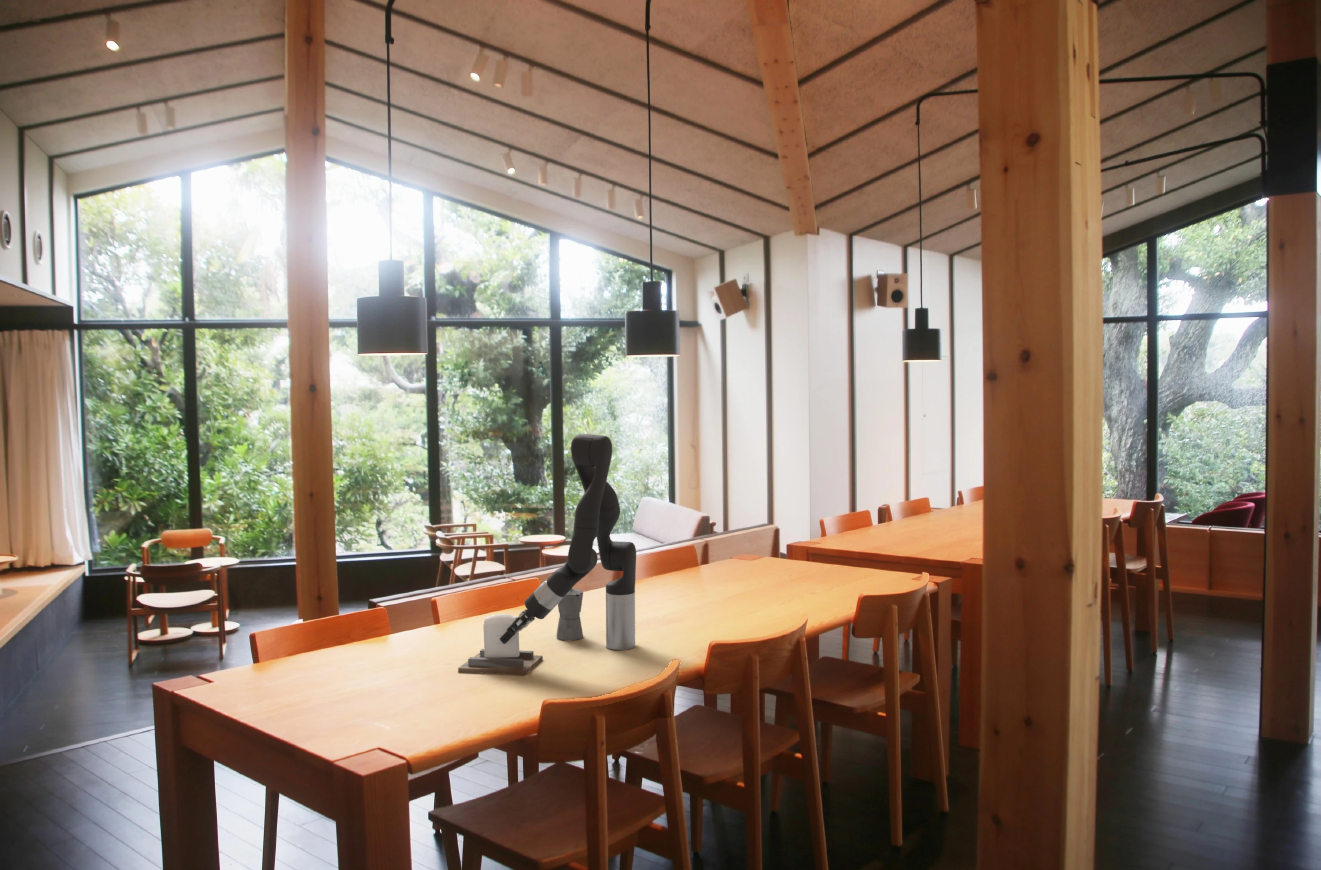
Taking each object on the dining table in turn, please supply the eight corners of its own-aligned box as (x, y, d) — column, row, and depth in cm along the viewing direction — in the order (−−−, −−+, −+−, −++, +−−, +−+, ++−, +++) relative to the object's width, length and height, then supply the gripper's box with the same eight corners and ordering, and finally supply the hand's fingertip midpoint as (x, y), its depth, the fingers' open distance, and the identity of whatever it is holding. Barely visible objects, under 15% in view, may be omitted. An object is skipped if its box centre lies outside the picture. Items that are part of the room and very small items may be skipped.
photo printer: (482, 658, 250) (481, 616, 250) (486, 654, 255) (485, 613, 254) (517, 658, 250) (517, 616, 250) (520, 654, 254) (519, 612, 254)
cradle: (479, 656, 262) (479, 646, 262) (542, 659, 259) (542, 648, 259) (458, 672, 246) (458, 660, 246) (525, 675, 243) (525, 663, 243)
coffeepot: (591, 639, 283) (591, 584, 282) (566, 643, 277) (565, 587, 277) (570, 629, 296) (569, 577, 295) (545, 633, 290) (544, 580, 290)
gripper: (542, 585, 258) (504, 624, 260) (527, 594, 243) (487, 636, 246) (560, 603, 257) (521, 642, 259) (546, 613, 243) (505, 655, 245)
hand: (505, 639), depth 252 cm, fingers closed on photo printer, 4 cm apart
